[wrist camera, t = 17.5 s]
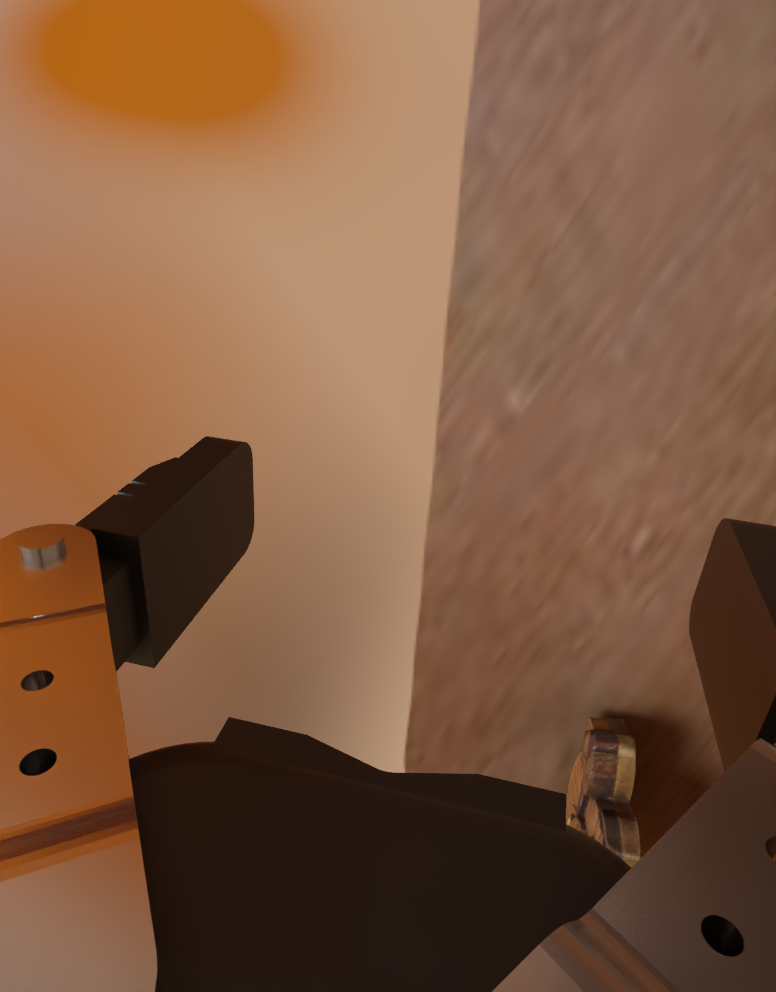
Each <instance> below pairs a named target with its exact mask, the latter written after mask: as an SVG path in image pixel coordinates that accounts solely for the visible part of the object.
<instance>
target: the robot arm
mask: <svg viewBox="0 0 776 992" xmlns="http://www.w3.org/2000/svg"><path fill="white" fill-rule="evenodd" d="M252 463H253V459H252V451H251V448H250V446H249V445H248V443H246V442H240V441H234V440H228V439H221V438H215V437H208V436H207V437H204V438H203V439H201V440H200V441H199V442H198V443H197V444H195V445H194V446H193V447H192V448H190V449H189V450H188V451H187V452H185V453H184V454H183V455H182V456H180V457H179V458H173V459H170V460H167V461H165V462H162V463H160V464H157V465H154V466H152V467H149V468H148V469H147V470H145V471H144V472H143V473H141V474H140V475H139V476H138V477H136V478H135V479H134V480H133V481H132V484H127V485H126V486H125V487H123V488H122V489H121V490H120V491H118V494H117V495H113V496H112V497H110V498H109V499H108V500H107V501H106V502H104V503H103V504H101V505H100V506H99V507H97V508H96V509H95V510H94V511H92V512H91V513H90V514H89V515H87V516H86V517H85V518H83V519H82V520H81V521H80V522H78V523H77V524H76V525H70V524H45V525H38V526H33V527H29V528H25V529H22V530H19V531H16V532H14V533H11V534H9V535H7V536H5V537H4V538H2V539H0V992H776V527H775V526H772V525H765V524H759V523H753V522H746V521H740V520H733V519H727V518H724V519H723V520H721V522H720V523H719V525H718V526H717V528H716V531H715V534H714V536H713V539H712V543H711V546H710V549H709V552H708V555H707V558H706V561H705V564H704V567H703V570H702V573H701V576H700V579H699V582H698V585H697V588H696V591H695V594H694V597H693V600H692V605H691V610H690V619H689V631H690V638H691V642H692V646H693V650H694V654H695V657H696V661H697V665H698V669H699V673H700V677H701V681H702V685H703V689H704V693H705V697H706V701H707V705H708V709H709V713H710V717H711V721H712V725H713V728H714V732H715V736H716V740H717V744H718V748H719V752H720V756H721V760H722V764H723V768H724V772H725V773H724V774H723V775H722V776H721V777H720V778H719V779H718V780H717V781H716V782H715V783H714V784H713V785H712V786H711V787H710V788H709V789H708V790H707V791H706V792H705V793H704V794H703V795H702V796H701V797H700V798H699V799H698V800H697V801H696V802H695V803H694V804H693V805H692V806H691V807H690V808H689V810H688V811H687V812H686V813H685V814H684V815H683V816H682V817H681V818H680V819H679V820H678V821H677V822H676V823H675V824H674V825H673V826H672V827H671V828H670V829H669V830H668V831H667V832H666V833H665V834H664V835H663V836H662V837H661V838H660V839H659V840H658V841H657V842H656V843H655V844H654V845H653V846H652V847H651V848H650V849H649V850H648V851H647V852H646V854H645V855H644V856H643V857H642V858H641V859H640V860H639V861H638V862H637V863H636V864H635V865H634V866H633V867H632V868H631V867H630V866H629V865H628V864H627V863H626V862H625V861H623V860H622V859H621V858H620V857H619V856H617V855H616V854H614V853H613V852H612V851H610V850H609V849H608V848H606V847H605V846H604V845H602V844H601V843H599V842H598V841H596V840H594V839H592V838H591V837H589V836H587V835H586V834H584V833H582V832H581V831H579V830H577V829H575V828H573V827H571V826H569V825H567V824H566V794H563V793H558V792H554V791H549V790H545V789H541V788H536V787H532V786H528V785H523V784H519V783H515V782H510V781H506V780H501V779H497V778H493V777H488V776H484V775H480V774H441V773H391V772H385V771H381V770H379V769H376V768H374V767H372V766H370V765H368V764H366V763H364V762H362V761H360V760H358V759H356V758H353V757H351V756H349V755H347V754H345V753H343V752H341V751H339V750H337V749H334V748H333V747H331V746H329V745H326V744H325V743H322V742H320V741H318V740H316V739H314V738H312V737H310V736H308V735H305V734H301V733H296V732H292V731H288V730H283V729H279V728H275V727H270V726H266V725H261V724H257V723H253V722H248V721H244V720H240V719H235V718H231V717H229V718H228V720H227V721H226V723H225V725H224V726H223V728H222V730H221V732H220V733H219V735H218V737H217V738H216V740H215V742H196V743H186V744H181V745H175V746H169V747H165V748H161V749H158V750H154V751H150V752H147V753H144V754H141V755H139V756H136V757H134V758H131V759H129V754H128V746H127V739H126V732H125V726H124V720H123V712H122V706H121V699H120V693H119V687H118V680H117V674H116V671H117V670H118V669H119V668H120V667H121V666H122V664H123V663H124V662H129V663H134V664H138V665H143V666H148V667H152V668H155V667H156V665H157V664H158V662H159V661H160V660H161V659H162V658H163V656H164V655H165V654H166V652H167V651H168V650H169V649H170V648H171V646H172V645H173V644H174V642H175V641H176V640H177V638H178V637H179V636H180V635H181V634H182V632H183V631H184V630H185V628H186V627H187V626H188V625H189V623H190V622H191V621H192V620H193V618H194V617H195V616H196V615H197V613H198V612H199V611H200V609H201V608H202V607H203V606H204V604H205V603H206V602H207V601H208V599H209V598H210V596H211V595H212V594H213V593H214V592H215V590H216V589H217V588H218V587H219V585H220V584H221V583H222V582H223V580H224V579H225V578H226V576H227V575H228V574H229V573H230V571H231V570H232V569H233V567H234V566H235V565H236V564H237V562H238V561H239V560H240V559H241V557H242V556H243V555H244V553H245V552H246V550H247V548H248V546H249V544H250V541H251V538H252V533H253V529H254V493H253V464H252Z"/></svg>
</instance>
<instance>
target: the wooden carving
mask: <svg viewBox="0 0 776 992" xmlns="http://www.w3.org/2000/svg"><path fill="white" fill-rule="evenodd" d="M635 774H636V745H635V740H634V738H632V737H631V735H630V733H629V732H628V730H627V728H626V725H625V723H624V721H623V719H622V718H606V719H598V718H591V717H589V721H588V729H587V731H585V733H584V735H583V741H582V752H580V753H579V755H578V757H577V759H576V761H575V764H574V767H573V770H572V772H571V776H570V781H569V787H568V793H567V805H566V824H567V825H569V826H571V827H573V828H575V829H577V830H579V831H581V832H582V833H584V834H586V835H587V836H589V837H591V838H592V839H594V840H596V841H598V842H599V843H601V844H602V845H604V846H605V847H606V848H608V849H609V850H610V851H612V852H613V853H614V854H616V855H617V856H619V857H620V858H621V859H622V860H623V861H625V862H626V863H627V864H628V865H629V866H630V867H631V868H632V867H633V866H634V865H635V864H636V863H637V862H638V861H639V860H640V858H641V857H640V838H639V829H638V823H637V819H636V817H635V816H634V815H633V813H632V809H631V805H630V799H631V795H632V791H633V787H634V779H635Z"/></svg>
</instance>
